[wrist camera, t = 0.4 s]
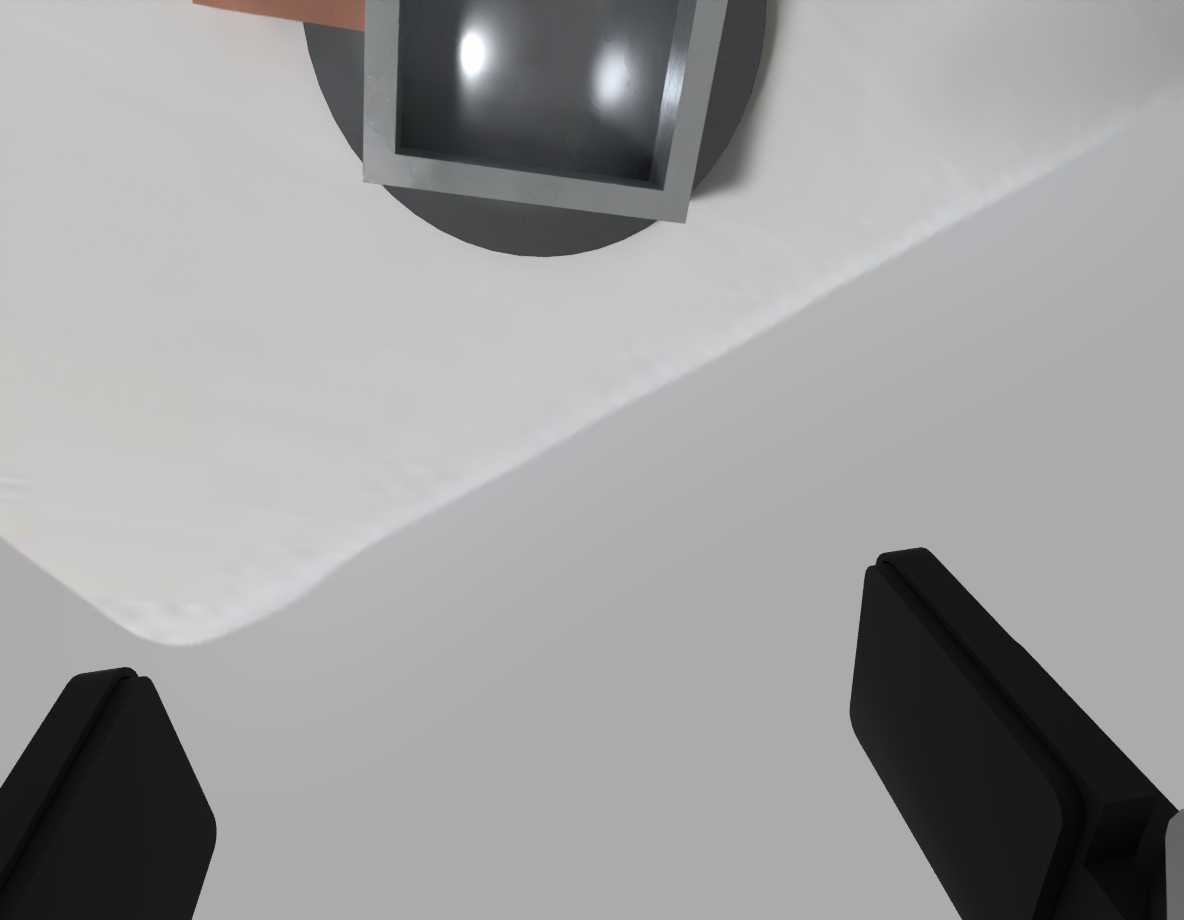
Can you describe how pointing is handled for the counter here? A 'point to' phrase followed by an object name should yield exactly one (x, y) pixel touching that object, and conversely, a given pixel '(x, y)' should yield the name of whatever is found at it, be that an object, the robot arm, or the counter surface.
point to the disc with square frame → (533, 107)
